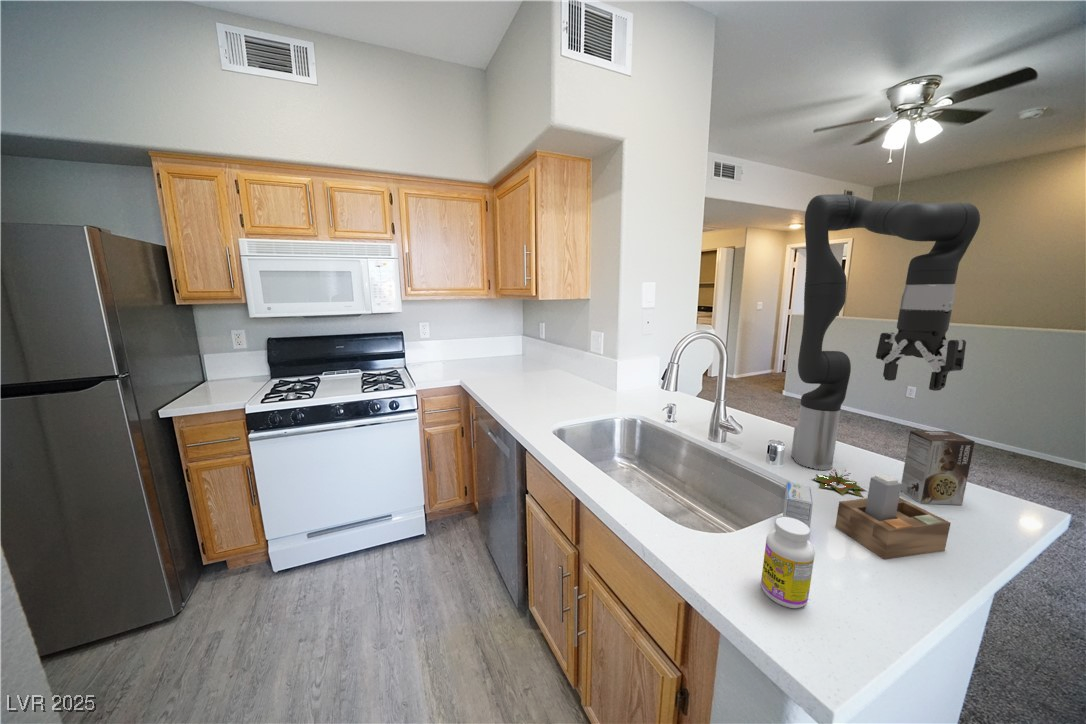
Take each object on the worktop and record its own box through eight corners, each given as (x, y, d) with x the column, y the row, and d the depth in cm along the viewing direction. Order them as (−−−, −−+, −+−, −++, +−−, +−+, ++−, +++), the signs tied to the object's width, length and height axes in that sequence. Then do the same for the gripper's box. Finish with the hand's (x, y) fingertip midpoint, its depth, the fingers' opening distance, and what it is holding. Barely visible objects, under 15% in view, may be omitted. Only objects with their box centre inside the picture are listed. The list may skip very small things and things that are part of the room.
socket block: (835, 526, 80) (839, 500, 79) (890, 520, 82) (894, 493, 81) (884, 559, 70) (889, 529, 69) (944, 550, 73) (951, 521, 71)
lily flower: (807, 472, 105) (809, 456, 105) (862, 482, 99) (865, 466, 99) (811, 491, 95) (813, 474, 95) (872, 504, 89) (875, 486, 88)
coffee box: (937, 491, 94) (950, 430, 91) (963, 505, 88) (977, 440, 85) (898, 489, 95) (909, 429, 92) (920, 504, 88) (933, 439, 85)
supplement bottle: (752, 580, 66) (759, 513, 63) (787, 577, 66) (796, 511, 64) (778, 612, 59) (788, 539, 57) (818, 609, 60) (828, 536, 57)
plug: (863, 522, 77) (871, 474, 75) (876, 520, 77) (884, 473, 75) (879, 532, 74) (888, 482, 72) (893, 530, 74) (902, 481, 72)
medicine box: (808, 543, 75) (813, 503, 74) (782, 535, 78) (786, 497, 76) (806, 522, 82) (811, 486, 80) (782, 516, 84) (786, 480, 83)
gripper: (873, 306, 82) (862, 378, 85) (953, 309, 69) (936, 394, 72) (902, 306, 84) (890, 376, 87) (986, 308, 70) (968, 392, 73)
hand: (911, 384), depth 79 cm, fingers open, 8 cm apart
